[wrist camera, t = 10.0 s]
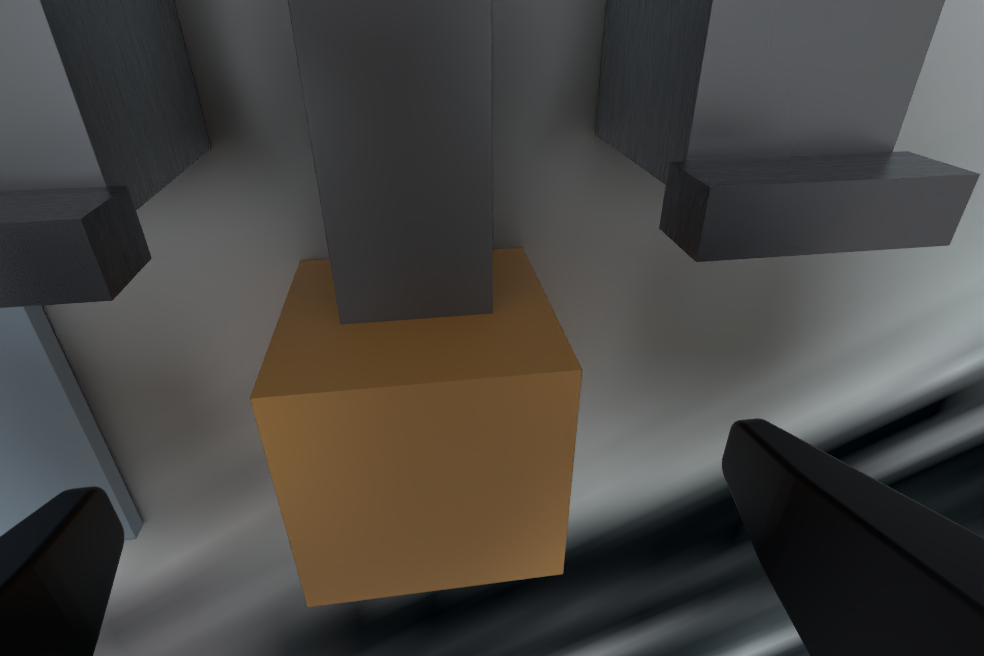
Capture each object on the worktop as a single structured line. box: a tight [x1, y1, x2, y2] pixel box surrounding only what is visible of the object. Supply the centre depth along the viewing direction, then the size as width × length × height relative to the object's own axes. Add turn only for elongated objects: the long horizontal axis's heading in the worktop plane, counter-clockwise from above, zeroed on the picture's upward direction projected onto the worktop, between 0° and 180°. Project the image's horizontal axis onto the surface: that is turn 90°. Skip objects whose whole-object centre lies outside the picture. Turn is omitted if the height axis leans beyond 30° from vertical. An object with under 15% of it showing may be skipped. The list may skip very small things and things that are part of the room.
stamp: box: [250, 0, 582, 607], centre depth 8 cm, size 13×4×4 cm, turn 0°
